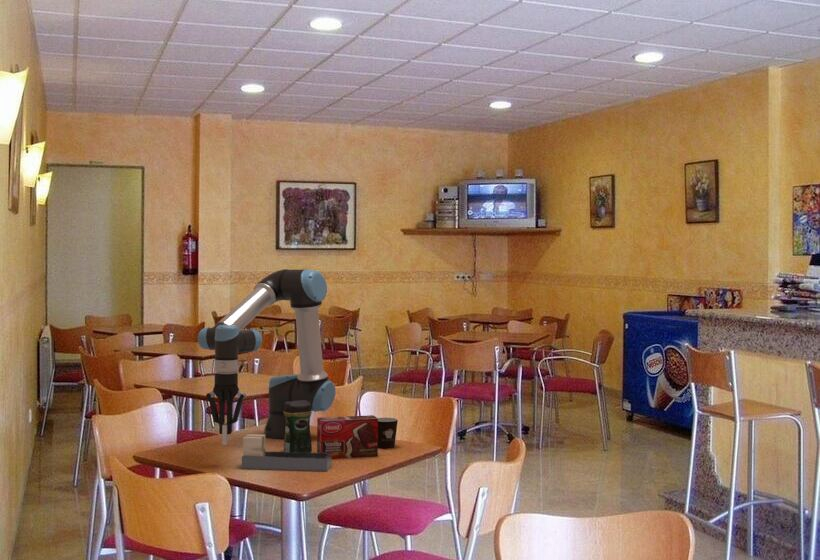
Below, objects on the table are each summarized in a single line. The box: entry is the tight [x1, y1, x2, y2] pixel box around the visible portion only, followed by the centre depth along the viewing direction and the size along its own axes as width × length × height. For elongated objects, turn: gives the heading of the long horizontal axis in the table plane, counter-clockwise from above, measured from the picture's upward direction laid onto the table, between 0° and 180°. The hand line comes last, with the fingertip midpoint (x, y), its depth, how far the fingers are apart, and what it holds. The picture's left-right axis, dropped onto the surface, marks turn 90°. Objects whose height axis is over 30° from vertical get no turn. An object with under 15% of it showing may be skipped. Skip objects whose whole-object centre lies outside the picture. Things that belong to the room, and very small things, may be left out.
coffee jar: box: [283, 400, 313, 453], centre depth 320 cm, size 10×8×19 cm
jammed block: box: [242, 433, 266, 456], centre depth 300 cm, size 6×6×8 cm
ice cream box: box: [316, 414, 379, 460], centre depth 317 cm, size 20×6×13 cm, turn 107°
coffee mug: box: [377, 417, 399, 450], centre depth 333 cm, size 12×9×10 cm
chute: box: [241, 450, 333, 472], centre depth 299 cm, size 9×28×4 cm, turn 85°
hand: (225, 443), depth 301 cm, fingers closed
